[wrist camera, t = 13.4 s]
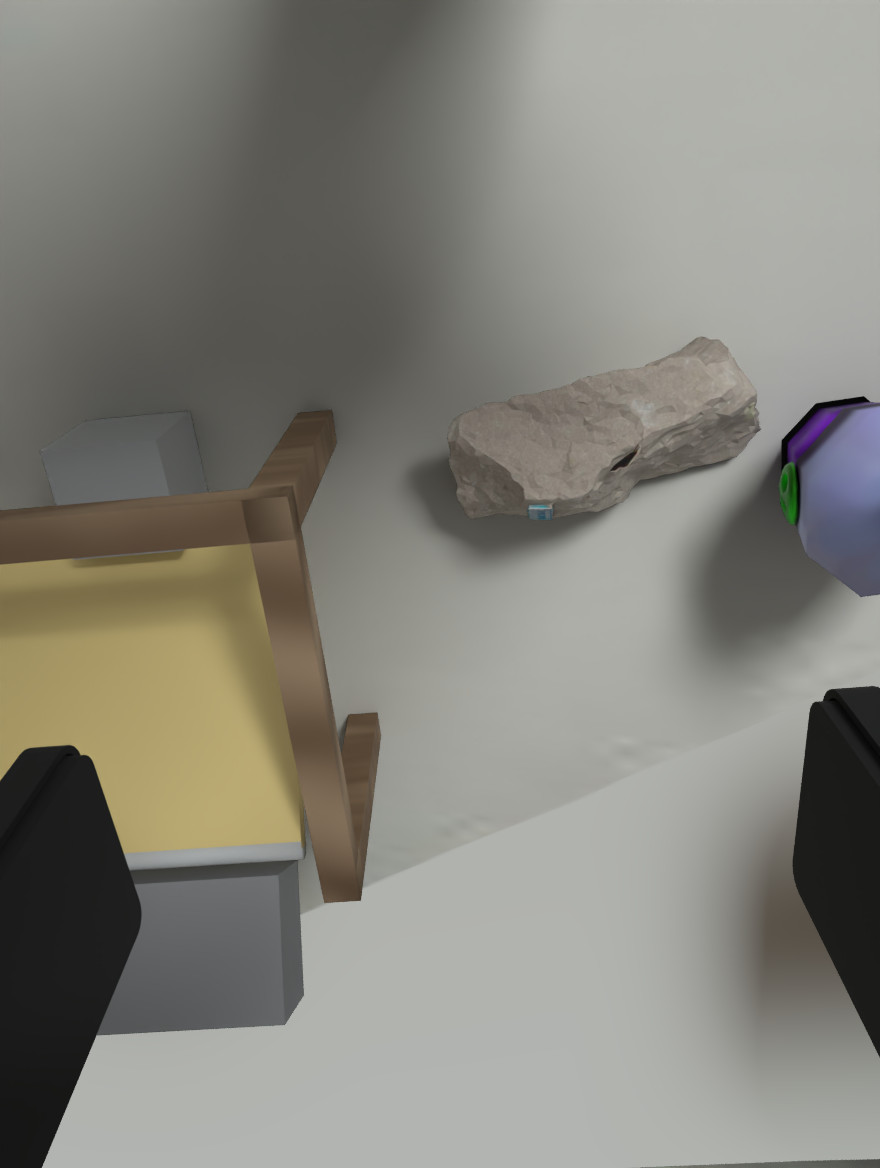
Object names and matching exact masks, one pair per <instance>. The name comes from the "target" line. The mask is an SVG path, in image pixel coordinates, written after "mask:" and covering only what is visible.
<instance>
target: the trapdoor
mask: <svg viewBox="0 0 880 1168" xmlns="http://www.w3.org/2000/svg"><path fill="white" fill-rule="evenodd" d="M61 745H72V746H75V747H76V749H77V750H78V751H79V753H80V755H87V756H89V757H90V758H91V759H92V761H93V763H94V766H95V769H96V772H97V775H98V778H99V781H100V784H101V787H102V790H103V793H104V796H105V799H106V802H107V805H108V808H109V810H110V813H111V816H112V819H113V822H114V825H115V828H116V831H117V834H118V837H119V840H120V843H121V846H122V849H123V852H124V855H125V858H126V861H127V864H128V867H129V870H130V873H131V876H132V879H133V882H134V885H135V888H136V891H137V894H138V897H139V900H140V904H141V911H142V917H141V926H140V930H139V933H138V936H137V938H136V941H135V943H134V945H133V948H132V950H131V953H130V955H129V958H128V960H127V962H126V965H125V967H124V970H123V972H122V975H121V977H120V979H119V982H118V984H117V987H116V989H115V992H114V994H113V996H112V999H111V1001H110V1004H109V1006H108V1008H107V1011H106V1013H105V1016H104V1018H103V1021H102V1023H101V1025H100V1028H99V1030H98V1033H97V1035H110V1034H111V1035H112V1034H129V1033H147V1032H165V1031H183V1030H200V1029H219V1028H236V1027H255V1026H273V1025H285V1024H286V1022H287V1020H288V1019H289V1018H290V1016H291V1014H292V1013H293V1011H294V1010H295V1008H296V1007H297V1005H298V1003H299V1002H300V1000H301V999H302V997H303V996H304V988H303V969H302V946H301V924H300V903H299V881H298V860H299V859H304V858H305V855H306V841H305V826H304V805H303V797H302V793H301V788H300V783H299V778H298V773H297V768H296V764H295V759H294V754H293V749H292V744H291V739H290V735H289V730H288V725H287V720H286V715H285V711H284V706H283V701H282V696H281V691H280V686H279V682H278V677H277V672H276V667H275V662H274V657H273V653H272V648H271V643H270V638H269V633H268V628H267V624H266V619H265V614H264V609H263V604H262V600H261V595H260V590H259V585H258V580H257V575H256V571H255V566H254V561H253V556H252V551H251V546H250V544H240V545H228V546H216V547H204V548H192V549H184V550H183V551H172V552H160V553H148V554H137V555H125V556H113V557H101V558H89V559H77V560H73V559H61V560H49V561H38V562H26V563H14V564H2V565H0V780H1V779H2V778H3V776H4V775H5V774H6V772H7V771H8V770H9V768H10V767H11V766H12V764H13V763H14V762H15V760H16V759H17V758H18V756H19V755H20V754H21V753H22V752H23V751H24V750H25V749H28V748H34V747H47V746H61ZM284 860H286V861H284ZM269 861H271V862H269ZM253 862H256V863H253ZM238 863H240V864H238ZM223 864H225V865H223ZM207 865H210V866H207ZM192 866H194V867H192ZM177 867H179V868H177ZM162 868H164V869H162ZM146 869H148V870H146ZM131 870H133V871H131Z"/></svg>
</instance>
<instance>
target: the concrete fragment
mask: <svg viewBox="0 0 880 1168" xmlns="http://www.w3.org/2000/svg"><path fill="white" fill-rule="evenodd" d="M756 402H757V391H756V390H755V388H754V387H753V385H752V384H751V382H750V381H749V379H748V378H747V376H746V375H745V374H744V372H743V371H742V370H741V369H740V368H739V367H738V365H737V363H736V361H735V359H734V358H733V357H732V355H731V354H730V352H729V349H728V348H727V347H726V346H725V345H724V344H723V343H722V342H721V341H720V340H709V339H707V338H706V337H698V338H696V339H695V340H693V341H692V342H691V343H689V344H688V345H687V346H685V347H684V348H683V349H682V350H681V351H678V352H676V353H673V354H671V355H669V356H667V357H665V358H662V359H660V360H657V361H654V362H651V363H649V364H647V365H646V366H645V367H642V368H636V369H622V370H614V371H610V372H607V373H603V374H599V375H596V376H594V377H591V376H588V377H585V378H582V379H579V380H577V381H576V382H574V383H572V384H570V385H566V386H564V387H561V388H558V389H552V390H547V391H543V392H540V393H537V394H534V395H519V396H514V397H512V398H511V399H510V400H508V401H507V402H502V403H486V404H484V405H482V406H480V407H478V408H476V409H474V410H472V411H469V412H466V413H464V414H461V415H459V416H458V417H456V418H455V419H454V420H453V421H452V423H451V425H450V426H449V431H448V436H447V439H448V443H449V448H450V456H449V466H450V468H451V470H452V472H453V474H454V477H455V479H456V482H457V485H458V489H457V492H456V495H457V499H458V501H459V502H460V503H461V505H462V507H463V510H464V512H465V515H466V516H468V517H469V518H471V519H474V518H478V517H486V516H489V515H492V514H498V513H501V514H512V515H518V514H520V515H522V516H528V517H529V518H530V519H531V520H552V519H553V518H556V517H562V516H568V515H573V514H577V513H581V512H587V511H593V512H599V511H601V510H603V509H605V508H608V507H611V506H612V505H614V504H617V503H620V502H623V501H624V500H625V499H627V498H628V496H629V494H630V491H631V489H632V487H634V486H635V485H636V484H637V483H638V481H639V480H643V479H651V478H654V477H658V476H661V475H665V474H673V473H677V472H680V471H684V470H686V469H687V468H690V467H695V466H701V465H707V464H713V463H716V462H719V461H723V460H728V459H731V458H734V457H737V456H738V455H739V454H740V453H741V452H742V451H743V450H744V448H745V447H746V445H747V443H748V442H749V441H750V440H751V439H752V438H753V436H754V435H755V434H756V433H757V432H758V431H760V430H761V428H760V426H759V419H758V415H759V412H758V411H757V409H756V408H755V406H756Z"/></svg>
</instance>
